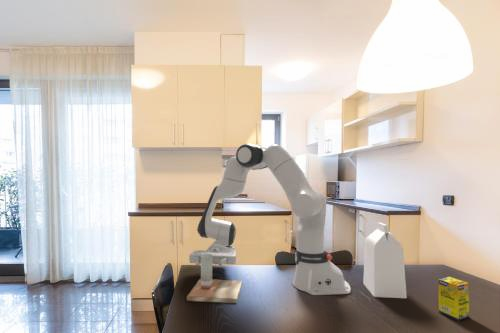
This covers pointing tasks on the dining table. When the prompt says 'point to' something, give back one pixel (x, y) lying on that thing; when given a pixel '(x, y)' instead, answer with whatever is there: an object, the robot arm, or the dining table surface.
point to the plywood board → (216, 291)
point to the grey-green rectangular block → (206, 271)
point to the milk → (384, 264)
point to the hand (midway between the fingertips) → (208, 263)
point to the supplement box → (453, 298)
